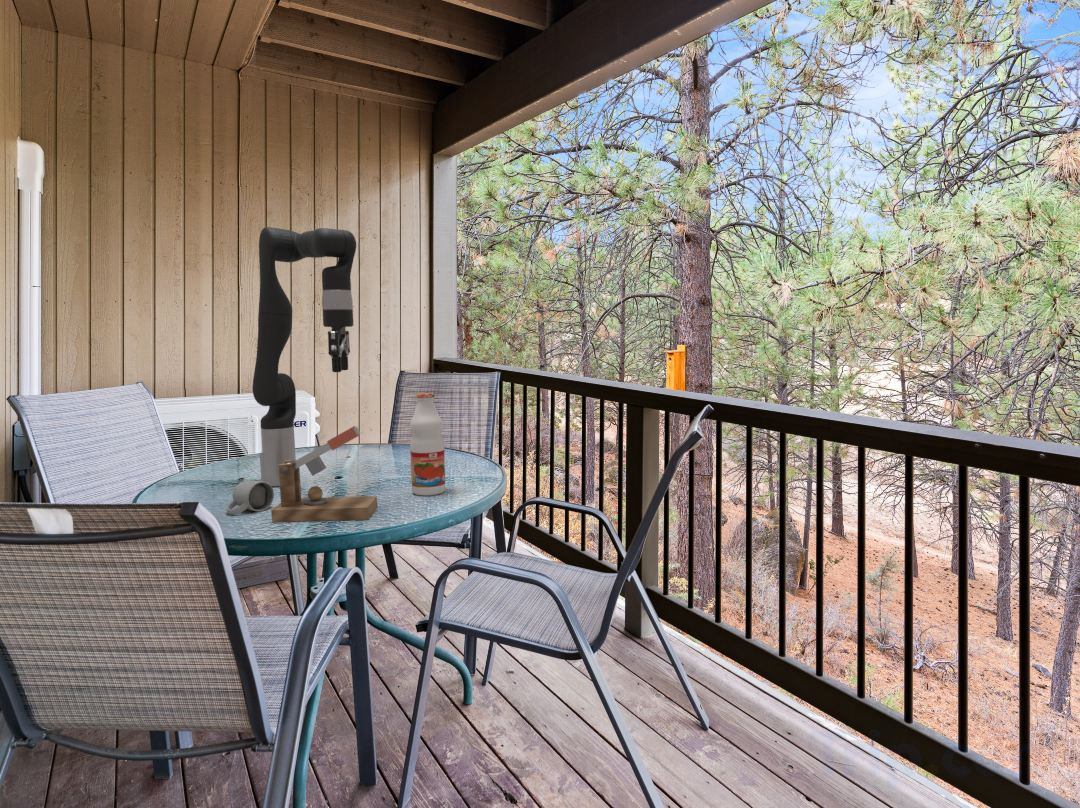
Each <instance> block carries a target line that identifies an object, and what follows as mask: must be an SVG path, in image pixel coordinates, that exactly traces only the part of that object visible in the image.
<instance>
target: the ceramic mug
mask: <svg viewBox="0 0 1080 808" xmlns="http://www.w3.org/2000/svg"><path fill="white" fill-rule="evenodd" d="M274 496H275V490H274V488H273V486H271V485H270V484H269V483H267V482H265V481H261V480H245V481H241V482H239V483H238V484H237V485H236V486H235V487H234V489H233V492H232V499H233V501H231V502H230V503H229V504H227V505H226V507H225V510H226V512H227V514H228V515H231V516H234V515H238V514H240V513H242V512H244V511H246V510H249V511H252V512H253V511H254V512H259V513H260V512H264V511H266V510H267V509H269V508H270V506H272V504H273V502H274V498H275V497H274ZM236 506H238V507H236Z"/></svg>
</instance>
